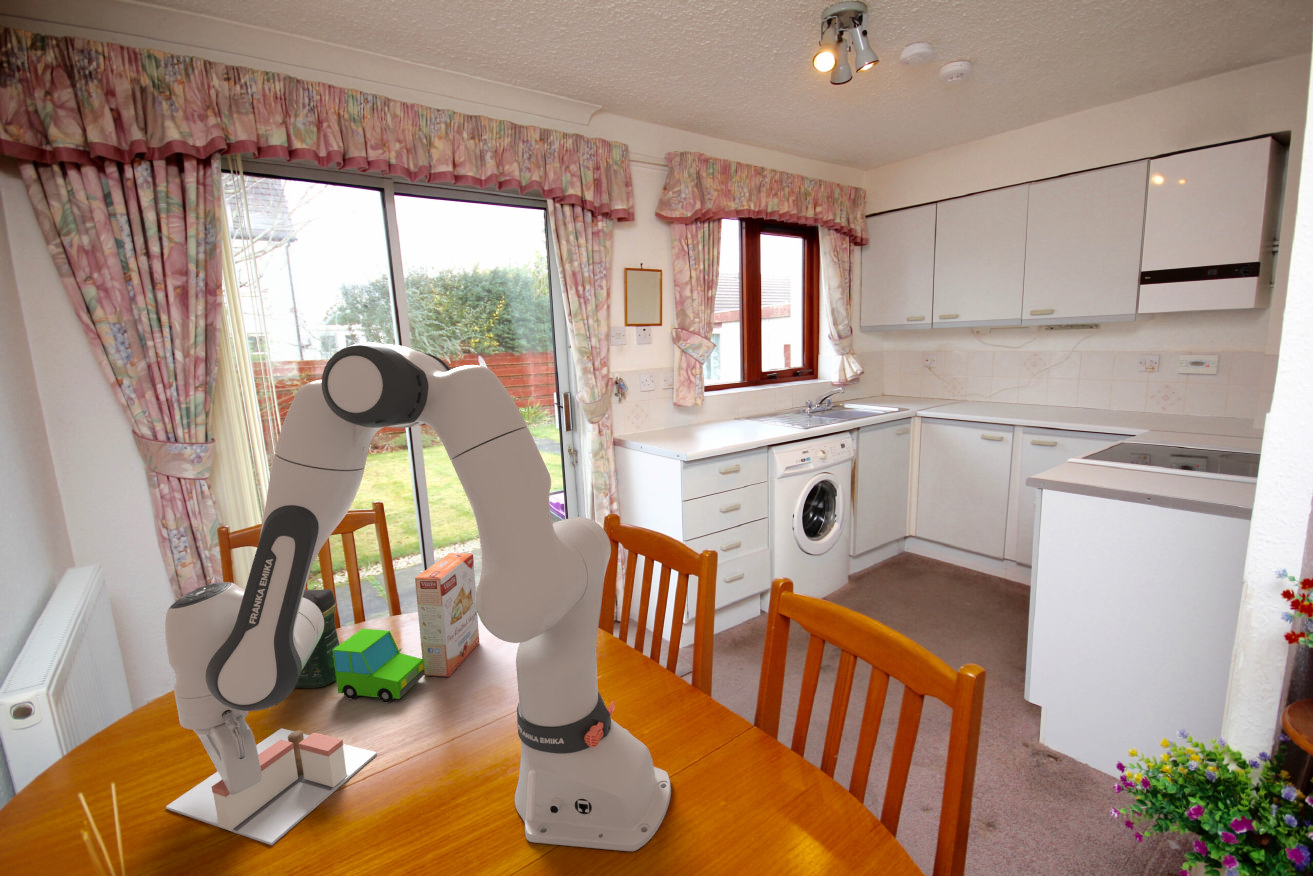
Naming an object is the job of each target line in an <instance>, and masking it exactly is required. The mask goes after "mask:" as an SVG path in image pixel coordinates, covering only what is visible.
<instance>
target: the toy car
mask: <svg viewBox="0 0 1313 876" xmlns="http://www.w3.org/2000/svg"><path fill="white" fill-rule="evenodd" d="M339 644H340V645H338V646H337V647H336V648H334V649H333V650H332V651H333V658H334V665H335V673H336V680H335V681H336V686H337V688H336V689H337V693H338V694H343V696H345V698H347V699H348V700H355V699H356V698H357V697H358V696H360V697H361V696H363V697H372V698H378V699H379V700H380V701H381V702H382V703H385V704H389V703H391V702H392V701H394V700H395V699H401V698H402V697H403V696H404V695H405V694H406V693H407V692H408V691H409V690H410V689H411V688H412V687H413V686H415V684H417V683H418V682H419V681H420V680H421V679H422V678H423V677H424V676H425V675H424V666H423V659H422V658H420V657H416V656H412V655H408V654H406V653H405V654H404V653H401V651H402V647H401V648H400V649H399V648H398V646H397V644H396V641H395V640H394V637H393V635H392V632H391V631H390V630H384V629H374V628H373V629H372V628H362V629H360V630H359V631H357V632H356V633H354V634H353V635H351V636H350V637H349V638H347V639H346V640H344V641H343V642H341V643H339Z"/></svg>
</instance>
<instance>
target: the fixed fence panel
mask: <svg viewBox="0 0 1313 876" xmlns="http://www.w3.org/2000/svg"><path fill="white" fill-rule="evenodd" d="M308 735H309V736H308V737H307V738H305V739H304V740H302V741H301V742H300V743H298V744H299V749H300V753H301V759H302V766H303V773H304V779H306V780H310V781H313V782H317V783H320V784H324V785H327V786H330V787H335V786H336V785H337V784H338V783H339V782H340V781H342V780H343V779H344V778H345V777H346V776H347V773H346V766H345V758H344V751H343V744H344V740H343V739H341V738H338V737H333V736H329V735H325V734H321V733H319V732H312V733H310V734H308Z"/></svg>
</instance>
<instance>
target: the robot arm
mask: <svg viewBox="0 0 1313 876" xmlns="http://www.w3.org/2000/svg"><path fill="white" fill-rule="evenodd" d="M321 375H322V376H321V379H318V380H313V381H310V382H307V383H305V384H303V385H302V386H301V387H300V388H299V389H298V390H297V392H296V393H295V395H294V397H293V399H292V402H291V404H290V406H289V409H288V411H287V413H286V415H285V418H284V420H283V424H282V426H281V429H280V432H279V436H278V438H277V439H278V440H277V443H276V446H275V450H274V455H273V459H272V462H271V469H270V476H269V479H268V480H269V481H268V487H267V494H266V501H265V507H264V512H263V517H262V522H261V523H262V524H261V528H260V534H259V539H258V543H257V546H256V547H257V548H256V551H255V554H254V557H253V561H252V565H251V566H250V567H251V569H250V571H249V575H248V578H247V583H246V586H245V588H243V587H240V586H239V585H237V584H236V583H234V582H230V581H226V582H225V581H224V582H222V581H221V582H220V581H219V582H216V583H215V582H214V583H211V584H206V585H204V586H200V587H198V588H196V589H194V590H191V591H190V592H187V593H185V594H184V595H182V596H181V597H180V598H178V599H177V600H176V601H175V602H173V604H171V605H170V606H169V608H168V609H167V612H166V615H165V623H164V625H165V626H164V627H165V631H164V633H165V641H166V642H165V643H166V645H165V646H166V653H167V658H168V659H167V660H168V663H169V666H170V667H171V668H172V670H173V672H174V674H175V675H174V676H175V681H174V686H173V690H174V691H173V692H174V697H175V703H176V708H177V715H178V720H179V725H180V726H181V727H183V728H184V729H186V730H193V733H196V735H197V736H198V738H199V740H200V742H201V743H202V745H203V747H204V749H205V751H206V752H207V754H208V756H209V758H210V759H211V762H212V763H213V766H214V767H215V769H216V772H217V771H218V773H219V774H220V776H221V778H222V780H223V782H224V784H225V785H226V787H227V789H228V791H229V793H230V794H232V795H234V794H237V793H239V792H241V791H243V790H246V789H248V788H250V787H251V786H253V785H255V784H257V783H259V782H260V780H261V776H262V773H261V767H260V762H259V757H258V752H257V747H256V745H257V744H256V739H255V736H254V733H253V731H252V728H251V726H250V725H249V723H248V722H247V721H246V720H245V719H246V717H247V716H248V715H249V714H250V713H249V712H255V711H262V710H267V709H270V708H272V707H275V706H277V705H279V704H280V703H282V702H284V701H285V700H286V699H287V698H289V696H290V695H291V694H292V692H293V691H294V690H295V686H296V683H297V681H298V679H299V676H300V674H301V671H302V669H303V668H304V666H305V664H306V663H307V661H308V659H309V658H310V656H311V654H312V652H313V650H314V649H315V647H316V645H317V643H318V642H319V640H320V638H321V636H322V634H323V631H324V627H325V620H324V616H323V613H322V611H321V610H320V608H319V607H318V606H317V605H316V604H315V603H314V602H313V601H311V600H309V599H308V598H305V597H303V594H304V590H306V585H307V582H308V578H309V575H310V572H311V569H312V567H313V564H314V562H315V560H316V558H317V557H318V554H319V553H320V551H321V550H322V548H323V546H324V545H325V543H326V542H327V540H328V539H329V538H330V537H331V535H332V534H333V532H334V531H335V530H336V529H337V527H338V526H339V525H340V524H341V522H342V520H343V519H344V518H345V516H346V515H347V514H348V512H349V511H350V508H351V506H352V505H353V502H354V500H355V499H356V496H357V494H358V491H359V489H360V486H361V483H362V480H363V476H364V472H365V468H366V463H367V459H368V455H369V449H370V446H371V443H372V441H373V438H374V437H375V435H376V434H377V433H378V432H379V431H380V430H382V429H383V428H393V429H407V428H414V427H417V426H428V427H430V428H431V429H432V430H433V431H434V432H435V433H436V434H437V436H438V438H439V440H440V441H441V443H442V445H443V447H444V449H445V451H446V453H447V455H448V458H449V460H450V462H451V464H452V467H453V469H454V471H455V473H456V475H457V477H458V480H459V481H460V482H459V483H460V484H461V486H462V488H463V491H464V493H465V495H466V498H467V500H468V502H469V504H470V507H471V509H472V513H473V516H474V518H475V522H476V528H477V531H478V533H477V534H478V538H479V545H480V556H481V557H480V559H481V562H480V563H481V564H480V565H481V567H480V575H479V581H478V583H477V587H476V595H475V604H476V610H477V615H478V619H479V620H480V622H481V623H482V624H483V626H484V627H485V629H486V630H487V631H488V632H489V633H491V635H492V636H494V637H496V638H498V639H499V640H501V641H504V642H507V643H513V644H518V647H517V651H516V657H515V666H516V680H517V681H516V682H517V692H518V704H517V707H516V718H517V719H516V720H517V721H516V722H517V734H518V737H519V740H520V767H519V774H518V775H519V776H518V781H517V785H516V786H517V787H516V790H515V793H514V794H515V795H514V806H515V809H516V811H517V812H518V814H519V817H521V819H522V821H523V822H524V836H525V838H526V840H527V841H528V842H530V843H535V844H536V843H537V844H547V845H559V846H569V847H579V848H588V849H589V848H592V849H599V850H600V849H602V850H613V851H624V852H636V851H638V850H639V849H641V848H642V847H643V846H645V845H646V844H647V843H648V842H649V841H650V840H651V839H652V838H653V837H654V835H655V834H656V833H657V831H658V829H659V828H660V826H661V825H662V822H663V820H664V819H665V816H666V814H667V811H668V808H669V805H670V802H671V795H672V787H671V779H670V777H669V773H668V772H667V771H666V770H664V769H662V768H659V767H656V766H654V761H653V758H652V755H651V753H650V750H649V748H648V747H647V746H646V745H645V744H644V743H643V742H642V741H640V739H638V738H636V737H635V736H634V735H632V733H631V732H630V731H629V730H628V729H626V728H623V727H622V726H621V725H620V724H619V723H617V722H616V721H615V720H614V719H612V718H611V717H612V715H613V713H614V712H615V709H616V706H615V703H616V701H615V700H613V701H612V702H611V703H610V705H609V706H608V707H607V706H606V704H605V701H604V699H603V697H602V695H601V694H600V692H599V688H598V684H599V683H598V668H597V667H598V666H597V639H598V631H599V624H600V616H601V610H602V602H603V601H602V599H603V591H604V584H605V583H604V582H605V577H606V572H607V569H608V565H609V562H610V561H609V560H610V558H611V553H612V547H611V546H612V545H611V541H610V538H609V536H608V533H606V531H605V530H604V528H603V527H602V526H601V525H600V524H599V523H598V522H596V521H594V520H593V519H590V518H587V517H585V516H584V517H581V516H576V517H570V518H565V519H561V520H558V521H555V522H553V518H552V514H551V507H550V506H551V505H550V493H551V489H552V479H551V478H552V477H551V474H550V472H549V469H548V468H547V465H546V464H545V461H544V459H543V456H542V454H541V453H540V450H539V449H538V446H537V444H536V442H535V440H534V438H533V436H532V433H531V431H530V429H529V427H528V424H527V422H526V420H525V419H524V417H523V414H522V413H521V411H520V410H519V407H518V405H517V404H516V403H515V401H514V399H513V397H512V396H511V394H510V393H509V391H508V390H507V388H506V387H505V385H504V384H503V382H502V381H501V380H500V379H499V378H498V375H496V374H495V372H494V371H492V370H491V369H490V368H488V367H485V366H483V365H476V364H469V365H461V366H457V367H454V368H453V369H452V368H451V367H450V366H449V364H447V363H446V362H445V361H444V360H442V359H441V358H439V357H438V356H435V355H433V354H431V353H427V352H422V351H419V350H415V349H413V348H410V347H407V346H404V345H398V344H386V343H385V344H383V343H379V342H374V341H373V342H361V343H359V342H358V343H355V344H352V345H348V346H346V347H344V348H342V349H340V350H338V351H336V352H335V353H334V354H333V355H332V356H331V357H330V359H328V361H327V362H326V364H325V367H324V368H323V371H322V374H321Z"/></svg>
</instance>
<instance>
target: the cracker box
mask: <svg viewBox="0 0 1313 876" xmlns="http://www.w3.org/2000/svg"><path fill="white" fill-rule="evenodd" d="M474 563H475V561H474V554H473V553H467V552H466V553H464V552H462V553H457V552H456V553H455V552H449V553H448V554H447V555H446V554H445V556H444V557H442V558H441V559H439V560H438V561H437V562H435V563H434V564H432V565H431V566H430V567H428V568H427V569H426V570H425V569H424V571H423V572H421V573H419V574H418V575H417V576H415V578H414V579H415V581H414V582H415V592H416V603H417V606H416V607H417V615H418V624H419V635H420V637H419V639H420V647H421V659H423V666H424V676H431V677H444V678H450V676H451V675H452V674H453V673H454V672H455V671H456V669H458V667H459V666H460V665H461V664H462V663H463V661H464V660H466V658H467V657H468V656H469V655H470V654H471V653H472V651H473V650H474V649H475V648H476V647H477V646H478V645H479V643H480V633H479V616H478V613H477V610H476V604H475V595H476V590H477V587H476V577H475V564H474Z"/></svg>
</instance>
